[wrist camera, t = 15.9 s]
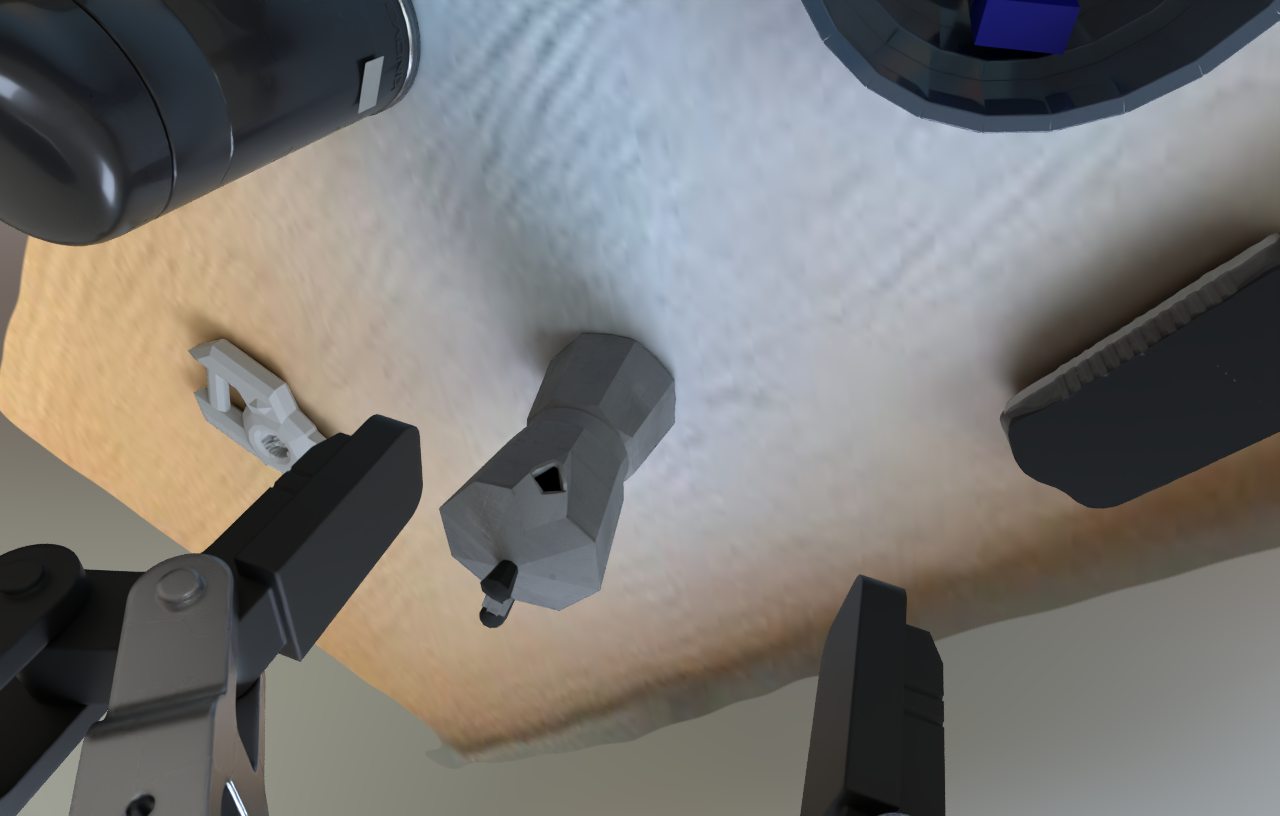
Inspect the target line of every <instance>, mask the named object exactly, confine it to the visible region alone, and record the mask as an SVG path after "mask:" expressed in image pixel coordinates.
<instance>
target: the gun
mask: <svg viewBox="0 0 1280 816" xmlns="http://www.w3.org/2000/svg"><path fill="white" fill-rule="evenodd" d="M188 351H189V353H190V354H191V355H192V356H193V357H194V358H195V359H196V360H197V361H198V362H200V363H201V364H203V365H204V366H205V367H206V371H207V386H208V388H207V387H205V386H203V387H202V388H200V389H199V390H197V391H196V392H194V395H195V397H196V399H197V402H198V404H199V406H200V408H201V411H202V413H203V415H204V417H205V419H206V420H207V422H209V423H210V424H212V425H213V426H214V427H216V428H217V429H219V430H220V431H221V432H223V433H224V434H226V435H227V436H228V437H230V438H231V439H232V440H234V441H235V442H237V443H238V444H239V445H241V446H242V447H244V448H245V449H246V450H248V451H249V452H251V453H252V454H253V455H255V456H256V457H258V458H259V459H260V460H261V461H262V462H263V463H264V464H265V465H266V466H267V465H269V466H271V467H273V468H274V469H276V470H278V471H280V472H282V473H285V472H286V471H290V470H291V466H292V465H293V464H294V463H295V462H296V461H297V460H299V459H300V458H301V457H302V456H303V455H304V454H305V453H306V452H307V451H308V450H309V449H310V448H311V447H312V446H314V445H316V444H318V443H320V442H322V441H324V440H326V438H325V437H324V436H323V435H321V434H320V433H319V432H318V430H317V428H316V426H315V424H314V423H313V422H312V421H311V420H310V419H309V418H308V417H306V416H305V415H304V414H303V413H302V412H301V411H300V409H299V407H298V405H297V403H296V401H295V399H294V397H293V394H292V392H291V390H290V388H289V386H288V384H287V383H285V382H284V381H283V380H281V379H280V378H279V377H277V376H276V375H274V374H273V373H272V372H270V371H269V370H268V369H266V368H265V367H263V366H262V365H261V364H259V363H258V362H257V361H255V360H254V359H252V358H251V357H250V356H248V355H247V354H246V353H244V352H243V351H241V350H240V349H239V348H237V347H236V346H235V345H233V344H232V343H230V342H229V341H227V340H225V339H219V340H214V341H210V342H206V343H201V344H198V345H197V346H195V347H193V348H192V349H190V350H188ZM229 384H230V385H232V386H233V387H234V388H236V389H237V390H238V392H239V393H240V395H241V396H242V398H243V399H244V401H245V403H246V404H247V405H246V408H245V410H244V412H243V411H241V410H240V409H239V408H237V407H236V406H234V405H233V404H232V403H230V393H229Z"/></svg>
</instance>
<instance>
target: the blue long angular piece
mask: <svg viewBox="0 0 1280 816" xmlns="http://www.w3.org/2000/svg"><path fill="white" fill-rule="evenodd" d="M1079 10H1080V6H1079V4H1078V0H974V2H973V5H972V9H971V12H970V21H971V27H972V33H973V40H974V45H979V46H988V47H997V48H1006V49H1015V50H1024V51H1032V52H1041V53H1050V54H1059V55H1063V54H1064V51H1065V48H1066V45H1067V43H1068V40H1069V37H1070V35H1071V32H1072V29H1073V26H1074V24H1075V21H1076V18H1077V15H1078V13H1079Z"/></svg>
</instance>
